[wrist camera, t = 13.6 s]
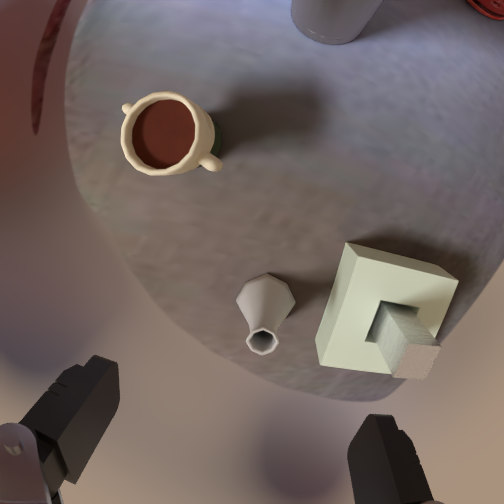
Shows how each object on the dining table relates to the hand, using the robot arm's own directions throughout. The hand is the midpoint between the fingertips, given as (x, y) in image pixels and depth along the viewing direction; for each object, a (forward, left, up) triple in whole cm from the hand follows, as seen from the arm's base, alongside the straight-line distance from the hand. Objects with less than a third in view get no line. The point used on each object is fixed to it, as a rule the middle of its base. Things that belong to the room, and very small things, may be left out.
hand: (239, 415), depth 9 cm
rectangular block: (+7, +17, -30) cm, 35 cm away
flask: (+10, +2, -30) cm, 32 cm away
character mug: (-8, -10, -30) cm, 33 cm away
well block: (+7, +17, -30) cm, 35 cm away
